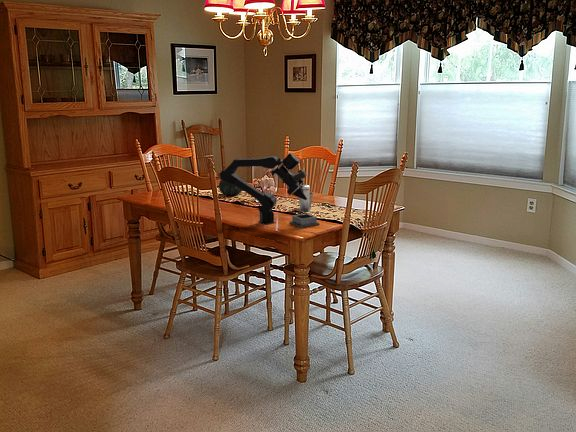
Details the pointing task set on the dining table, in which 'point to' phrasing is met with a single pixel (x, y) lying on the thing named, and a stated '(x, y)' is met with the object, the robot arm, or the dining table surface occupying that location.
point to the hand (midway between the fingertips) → (307, 198)
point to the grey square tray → (304, 220)
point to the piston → (305, 203)
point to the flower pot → (310, 198)
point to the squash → (228, 188)
